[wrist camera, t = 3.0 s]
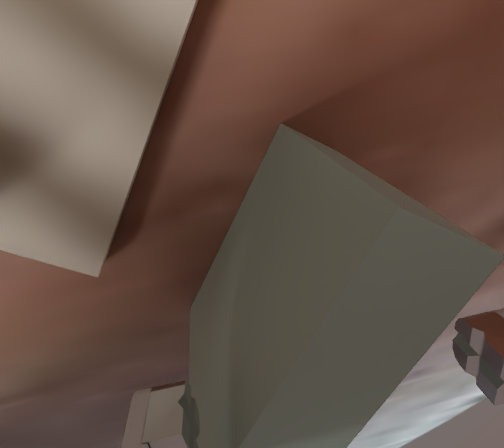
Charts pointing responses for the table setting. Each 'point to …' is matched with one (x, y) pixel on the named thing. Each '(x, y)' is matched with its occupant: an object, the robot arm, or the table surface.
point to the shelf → (78, 118)
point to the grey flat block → (321, 300)
